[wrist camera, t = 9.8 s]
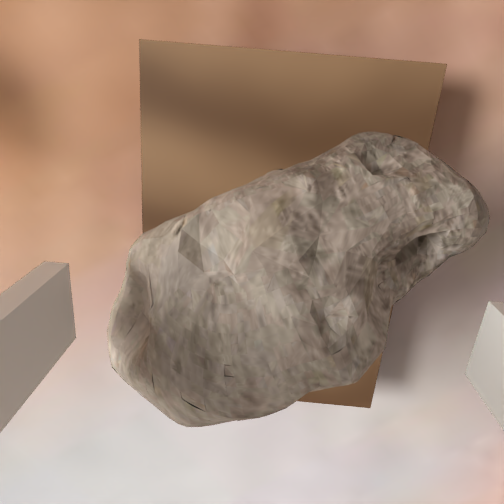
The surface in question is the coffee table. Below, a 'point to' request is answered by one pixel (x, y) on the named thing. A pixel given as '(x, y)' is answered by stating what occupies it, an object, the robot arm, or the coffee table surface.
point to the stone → (286, 279)
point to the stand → (266, 126)
